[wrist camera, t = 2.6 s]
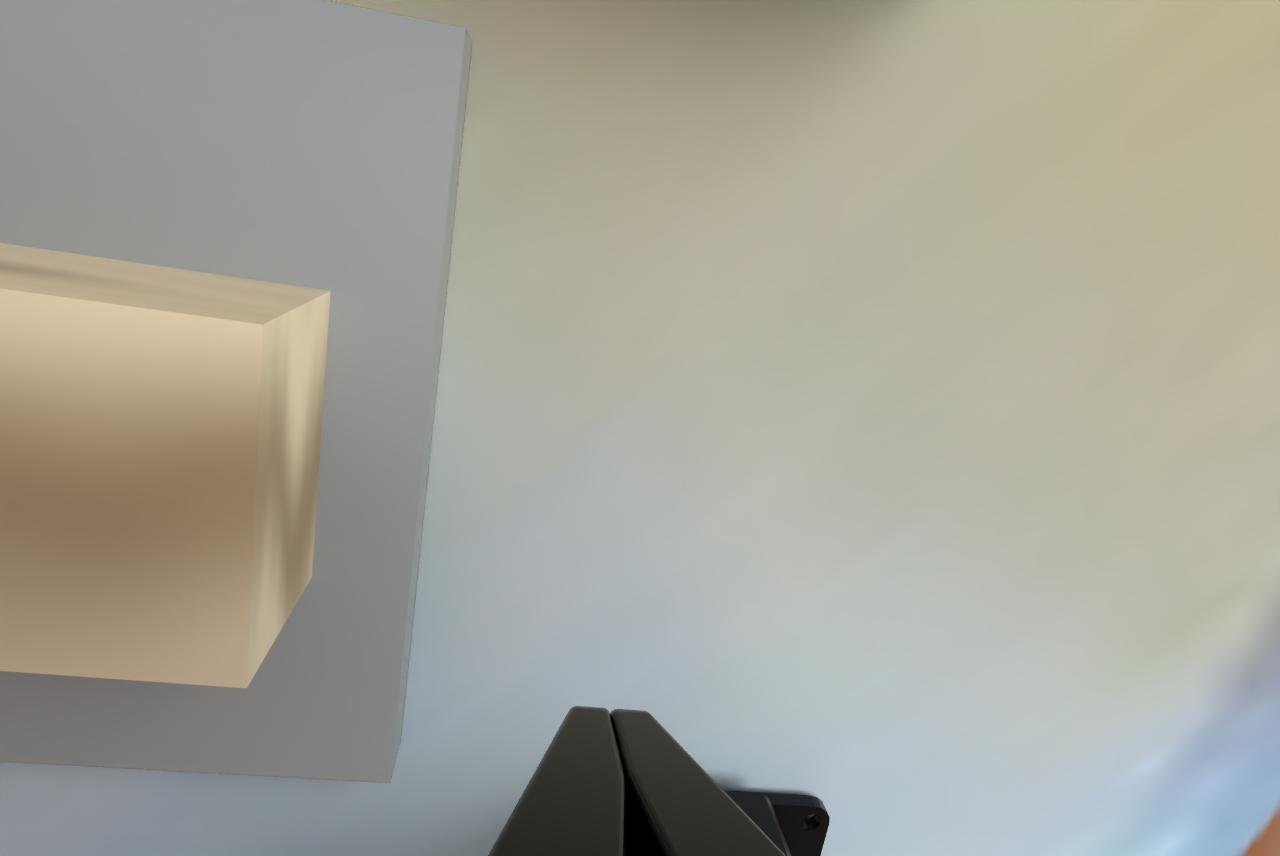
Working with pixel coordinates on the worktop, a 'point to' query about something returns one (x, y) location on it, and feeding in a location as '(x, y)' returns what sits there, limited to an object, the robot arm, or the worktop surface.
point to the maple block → (153, 466)
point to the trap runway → (273, 252)
